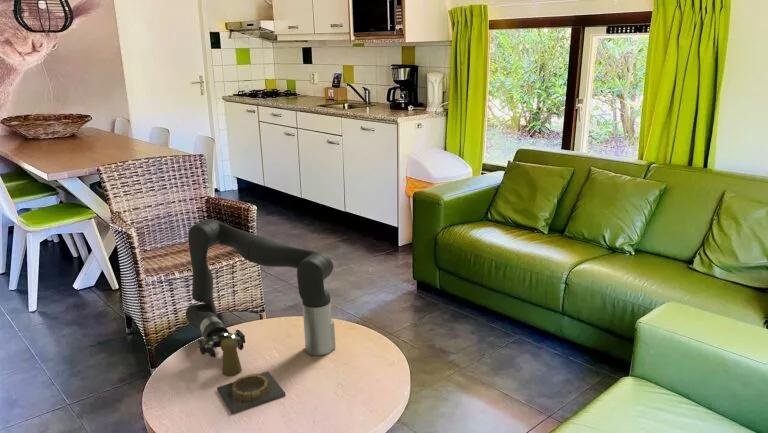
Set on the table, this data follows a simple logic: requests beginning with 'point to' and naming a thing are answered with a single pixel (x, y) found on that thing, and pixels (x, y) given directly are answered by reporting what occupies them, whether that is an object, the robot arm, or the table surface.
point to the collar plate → (250, 392)
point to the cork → (230, 357)
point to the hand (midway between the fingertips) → (228, 351)
